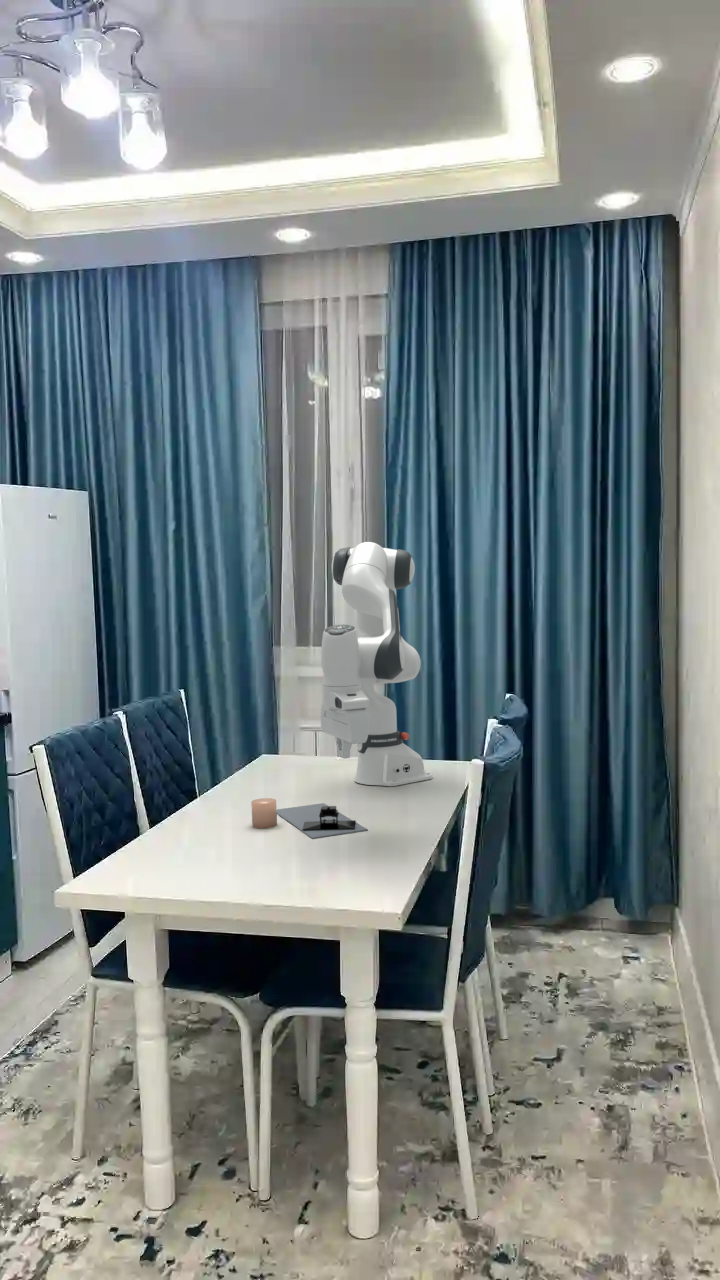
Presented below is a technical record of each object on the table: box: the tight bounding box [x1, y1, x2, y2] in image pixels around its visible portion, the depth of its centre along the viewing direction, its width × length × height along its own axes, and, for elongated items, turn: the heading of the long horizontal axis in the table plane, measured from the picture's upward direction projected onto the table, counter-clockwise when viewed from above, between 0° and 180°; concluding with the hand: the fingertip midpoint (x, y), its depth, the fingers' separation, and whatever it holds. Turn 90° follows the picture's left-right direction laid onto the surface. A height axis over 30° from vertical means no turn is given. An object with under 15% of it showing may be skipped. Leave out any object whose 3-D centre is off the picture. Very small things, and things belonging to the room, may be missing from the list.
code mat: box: [276, 802, 368, 840], centre depth 247 cm, size 14×29×1 cm, turn 23°
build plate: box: [301, 805, 357, 832], centre depth 240 cm, size 12×7×5 cm, turn 88°
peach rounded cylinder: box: [250, 797, 278, 830], centre depth 244 cm, size 6×6×6 cm
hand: (344, 757), depth 228 cm, fingers closed
